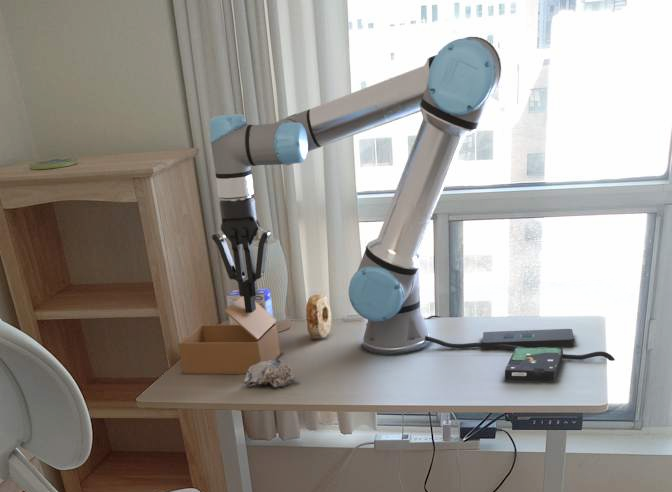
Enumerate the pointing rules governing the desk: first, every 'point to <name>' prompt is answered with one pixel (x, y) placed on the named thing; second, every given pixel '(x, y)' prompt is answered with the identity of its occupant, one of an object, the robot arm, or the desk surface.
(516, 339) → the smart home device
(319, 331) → the stone disc
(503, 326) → the desk surface
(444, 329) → the desk surface
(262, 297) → the ink cartridge box
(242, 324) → the flap
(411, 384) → the desk surface
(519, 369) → the disk drive
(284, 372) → the mineral specimen
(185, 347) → the carton
